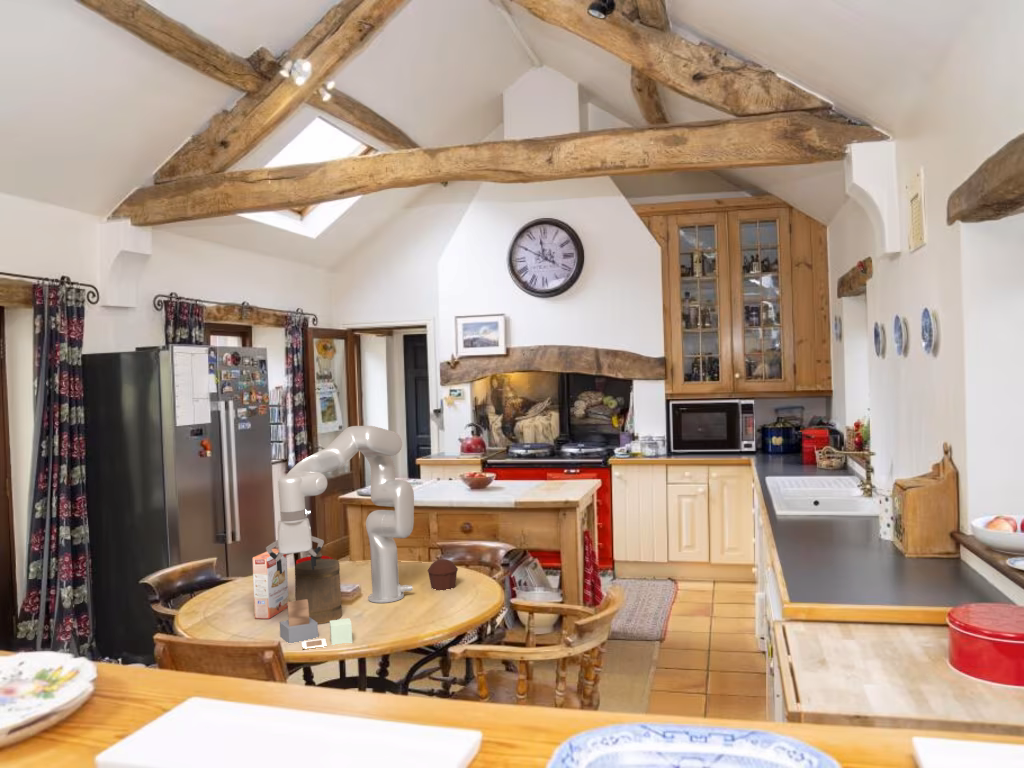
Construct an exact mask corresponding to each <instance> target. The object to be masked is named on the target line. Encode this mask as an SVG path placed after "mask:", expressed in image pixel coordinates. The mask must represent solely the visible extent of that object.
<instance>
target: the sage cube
mask: <svg viewBox="0 0 1024 768" xmlns="http://www.w3.org/2000/svg"><path fill="white" fill-rule="evenodd" d="M352 625H353V624H352V621H351V618H349V617H348V618H339V619H337V620H332V621H330V622H329V633H330V644H331V643H332V644H331V646H332V645H335V644H342V643H352V644H353V628H352V627H353V626H352Z"/></svg>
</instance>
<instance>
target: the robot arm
mask: <svg viewBox="0 0 1024 768" xmlns="http://www.w3.org/2000/svg"><path fill="white" fill-rule="evenodd" d="M402 440H403V439H402V437H401V436H400V434H398V433H397V432H396V431H393V430H390V429H385V428H382V427H378V426H373V425H352V426H349V427H346V428H344V430H342V432H341V433H339V435H337V436H336V437H335V438H334V440H332V441H331V442H330V443H329V444H328V445H327V446H326V447H325V448H323V449H321V450H318V451H316V452H315V453H313V454H311V455H309V456H307V457H305V458H303V459H301V460H300V461H299V462H297V463H296V464H295V465H294V466H293V467H292V468H291V469H290V470H289V471H288V472H287V473H286V475H284V476H282V477H280V478H278V481H277V484H278V485H277V487H278V488H277V489H278V499H279V501H278V503H279V515H280V520H279V521H278V522H277V540H276V541H273V542H272V543H270V544H269V545H268V546H266V547H265V550H266V552H268V553H269V555H270V556H271V557H272V558H273V559H275V560H276V562H277V571H280V574H281V573H282V564H281V559H280V558H281V557H282V556H283V554H287V555H290V554H299V553H306V552H308V553H309V554H310V556H311V567H312V569H313V570H314V566H316V555H317V554H318V553H320V551H321V550H322V547H323V546H324V544H325V541H324V539H321V538H319V537H316V536H313V535H312V530H311V524H310V520H309V518H308V517H307V516H309V515H311V510H307V509H306V500H305V497H315V496H320V495H321V494H323V493H324V492H325V491H326V489H327V487H328V479H327V477H326V475H325V474H326V473H331V472H333V471H337V470H340V469H343V467H344V466H346V464H348V463H349V462H350V461H351V459H352V458H353V457H354V456H355V455H356V454H358V452H360V453H361V454H362V455H363V456H364V457H365V459H366V460H367V462H368V464H369V467H370V500H371V502H372V503H373V505H375V506H377V507H378V506H379V507H391V508H392V507H393V508H394V510H390V509H376V510H373V511H371V512H369V514H368V516H367V517H366V520H365V528H366V532H367V537H368V541H369V550H370V551H369V553H370V568H371V587H372V588H371V589H372V593H370V594H369V595H368V598H367V600H368V601H370V602H372V603H377V604H384V603H386V604H387V603H392V602H396V601H399V600H402V599H403V598H404V596H405V594H404V592H411V591H413V585H412V584H411V585H409V584H404V585H403V584H400V579H399V562H398V561H399V560H398V546H397V543H396V541H395V539H406V538H408V537H409V536H410V535H412V533H413V530H414V524H415V523H414V522H415V516H414V515H415V513H414V512H415V494H414V493H415V492H414V489H413V486H412V484H411V483H410V482H408V481H407V480H404V479H403V480H402V479H396V476H395V473H396V472H395V469H396V468H395V463H394V461H393V458H392V457H393V456H396V455H398V454H399V453H400V452H401V450H402V447H403V441H402ZM313 542H314V543H317V546H316V547H315V548H313ZM276 547H277V549H279V553H278V554H277V555H276V554H275V553H274V552H273V551H272V549H275V548H276Z"/></svg>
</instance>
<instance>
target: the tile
mask: <svg viewBox="0 0 1024 768" xmlns="http://www.w3.org/2000/svg"><path fill="white" fill-rule="evenodd" d="M326 640H327V639H326V638H324V637H323V638H316V639H311V640H307V641H302V642H301V647H303V648H305V649H307V648H315V647H323V648H325V647H324V646H327V647H328V645H327V641H326Z"/></svg>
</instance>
